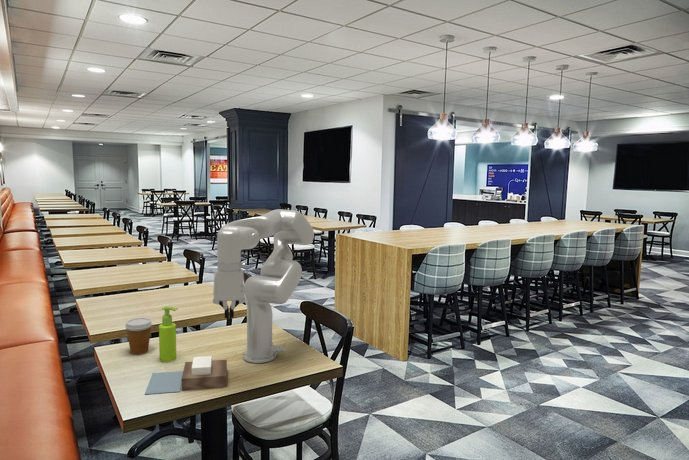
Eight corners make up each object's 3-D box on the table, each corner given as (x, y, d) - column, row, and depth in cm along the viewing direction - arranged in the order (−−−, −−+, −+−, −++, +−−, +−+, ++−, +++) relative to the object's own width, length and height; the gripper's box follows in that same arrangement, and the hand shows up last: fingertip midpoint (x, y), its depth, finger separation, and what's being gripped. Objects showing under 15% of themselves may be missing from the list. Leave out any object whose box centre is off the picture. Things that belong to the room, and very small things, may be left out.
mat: (184, 371, 167) (184, 370, 167) (179, 392, 152) (179, 391, 152) (152, 373, 164) (152, 373, 164) (144, 394, 150) (144, 393, 150)
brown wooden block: (226, 370, 169) (226, 359, 168) (226, 387, 156) (226, 375, 156) (185, 372, 166) (185, 362, 165) (181, 390, 153) (181, 378, 153)
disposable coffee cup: (148, 356, 178) (147, 325, 177) (122, 356, 178) (120, 325, 176) (156, 346, 188) (155, 317, 186) (131, 346, 187) (130, 317, 185)
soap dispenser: (173, 363, 173) (172, 310, 170) (156, 361, 175) (155, 308, 172) (182, 356, 179) (181, 305, 176) (165, 354, 180) (164, 304, 177)
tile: (211, 362, 165) (211, 356, 165) (210, 374, 157) (210, 367, 156) (193, 363, 164) (193, 357, 164) (191, 375, 155) (191, 368, 155)
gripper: (251, 263, 163) (251, 315, 165) (206, 264, 159) (206, 317, 162) (252, 268, 155) (252, 322, 158) (205, 269, 152) (205, 324, 155)
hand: (229, 319), depth 160 cm, fingers closed
